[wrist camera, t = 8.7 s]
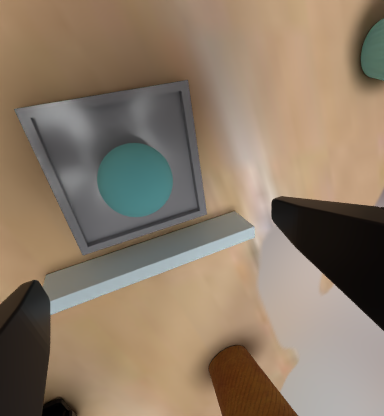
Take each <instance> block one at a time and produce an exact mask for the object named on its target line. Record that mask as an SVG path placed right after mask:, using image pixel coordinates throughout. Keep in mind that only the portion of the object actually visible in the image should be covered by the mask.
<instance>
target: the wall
mask: <svg viewBox="0 0 384 416" xmlns="http://www.w3.org/2000/svg"><path fill="white" fill-rule="evenodd" d="M252 238H255V230H254V226H253V225H252V224H250V223H249V222H248V221H247V220H245V219H244V218H243V217H241V216H240V215H239V214H238V213H236V212H235V211H233V212H231V213H228V214H225V215H222V216H219V217H216V218H213V219H210V220H207V221H204V222H201V223H198V224H195V225H192V226H189V227H186V228H183V229H180V230H177V231H174V232H171V233H168V234H166V235H163V236H160V237H157V238H154V239H151V240H148V241H145V242H142V243H139V244H136V245H133V246H130V247H127V248H124V249H121V250H118V251H115V252H112V253H109V254H106V255H103V256H100V257H98V258H95V259H92V260H89V261H86V262H83V263H80V264H77V265H74V266H71V267H68V268H65V269H62V270H59V271H56V272H53V273H50V274H47V275H46V277H45V281H44V284H43V289H44V290H45V292H46V294H47V295H48V297H49V299H50V315H52V314H55V313H57V312H60V311H63V310H65V309H68V308H70V307H73V306H76V305H78V304H81V303H84V302H86V301H89V300H91V299H94V298H97V297H99V296H102V295H105V294H107V293H110V292H113V291H115V290H118V289H120V288H123V287H126V286H128V285H131V284H134V283H136V282H139V281H141V280H144V279H147V278H149V277H152V276H155V275H157V274H160V273H162V272H165V271H168V270H170V269H173V268H176V267H178V266H181V265H184V264H186V263H189V262H191V261H194V260H197V259H199V258H202V257H205V256H207V255H210V254H212V253H215V252H218V251H220V250H223V249H226V248H228V247H231V246H234V245H236V244H239V243H241V242H244V241H247V240H249V239H252Z"/></svg>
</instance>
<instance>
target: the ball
mask: <svg viewBox="0 0 384 416" xmlns="http://www.w3.org/2000/svg"><path fill="white" fill-rule="evenodd" d="M97 185H98V189H99V192H100V194H101V197H102V198H103V200H104V201H105V203H106V204H107V205H108V206H109V207H110V208H111V209H113V210H114V211H116V212H118V213H120V214H122V215H125V216H129V217H143V216H147V215H150V214H152V213H154V212H156V211H157V210H159V209H160V208H161V207H162V206H163V205H164V204H165V203H166V201H167V200H168V198H169V196H170V194H171V191H172V186H173V176H172V171H171V168H170V166H169V164H168V162H167V160H166V159H165V158H164V156H163V155H162V154H161V153H160V152H158V151H157V150H156V149H154V148H152V147H150V146H148V145H145V144H141V143H127V144H123V145H120V146H118V147H116V148H114V149H113V150H111V151H110V152H109V153H108V154H107V155H106V156H105V157H104V158H103V160H102V162H101V164H100V166H99V169H98V174H97Z"/></svg>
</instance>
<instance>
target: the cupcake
mask: <svg viewBox="0 0 384 416" xmlns="http://www.w3.org/2000/svg"><path fill="white" fill-rule="evenodd" d="M361 66H362V69H363V72H364V73H365V74H366V75H367V76H368V77H371V78H375V79H379V80H383V81H384V18H383V19H382V20H380V21H378V22H377V23H376V24H375V25H374V26H373V27H372V28H371V30H370V31H369V33H368V34H367V36H366V38H365V41H364V43H363V47H362V51H361Z"/></svg>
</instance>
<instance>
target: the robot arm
mask: <svg viewBox="0 0 384 416" xmlns="http://www.w3.org/2000/svg"><path fill="white" fill-rule="evenodd" d="M271 216H272V220H273V222H274V223H275V224H276V225H277V226H278V228H279V229H280V230H281V231H282V232H283V233H284V235H285V236H286V237H287V238H288V239H289V240H290V242H291V243H292V244H293V245H294V246H295V247H296V248H297V249H298V250H299V251H300V252H301V253H302V254H303V255H304V256H305V257H306V258H307V259H308V260H310V262H312V263H313V264H314V265H315V266H316V267H317V268H318V269H319V270H320V271H321V272H322V273H323V274H324V275H325V276H326V277H327V278H328V279H329V280H330V281H332V282H333V283H334V284H335V285H336V286H337V287H338V288H339V289H340V290H341V291H343V293H344V294H345V295H346V296H347V297H348V298H350V299H351V300H352V301H353V302H354V303H355V304H356V305H357V306H358V307H359V308H360V309H361V310H362V311H363V312H364V313H365V314H366V315H367V316H369V317H370V318H371V319H372V320H373V321H374V322H375V323H376V324H377V325H378V326H379V327H380V328H381V329H382V330H383V331H384V207H381V208H380V207H376V206H367V205H358V204H349V203H339V202H330V201H321V200H312V199H302V198H293V197H284V196H281V197H278V198H275V199H273V200H272V211H271ZM49 354H50V299H49V297H48V295H47V294H46V292H45V290H44V289H43V287H42V286H41V284H40V282H39V281H37V280H32V281H30V282H27V283H24V284H22V285H20V286H19V287H18V288H17V289H16V290H15V291H14V292H13V293H12V294H11V295H10V296H9V297H8V298H7V299H5V300H4V301H3V302H2V303H1V304H0V416H77V415H76V414H75V413H74V412H73V411H72V410H71V409H70V408H69V407H68V405H67V404H66V403H65V402H64V401H63V399H56V400H54V401H52V402H50V403H47V404H45V405H43V401H44V393H45V385H46V378H47V370H48V362H49Z"/></svg>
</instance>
